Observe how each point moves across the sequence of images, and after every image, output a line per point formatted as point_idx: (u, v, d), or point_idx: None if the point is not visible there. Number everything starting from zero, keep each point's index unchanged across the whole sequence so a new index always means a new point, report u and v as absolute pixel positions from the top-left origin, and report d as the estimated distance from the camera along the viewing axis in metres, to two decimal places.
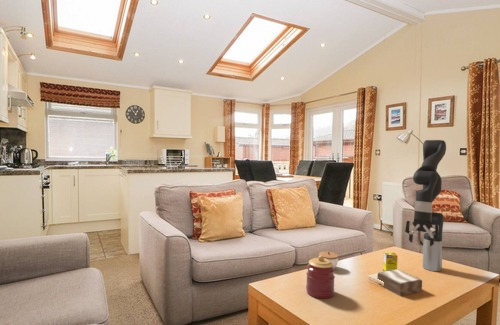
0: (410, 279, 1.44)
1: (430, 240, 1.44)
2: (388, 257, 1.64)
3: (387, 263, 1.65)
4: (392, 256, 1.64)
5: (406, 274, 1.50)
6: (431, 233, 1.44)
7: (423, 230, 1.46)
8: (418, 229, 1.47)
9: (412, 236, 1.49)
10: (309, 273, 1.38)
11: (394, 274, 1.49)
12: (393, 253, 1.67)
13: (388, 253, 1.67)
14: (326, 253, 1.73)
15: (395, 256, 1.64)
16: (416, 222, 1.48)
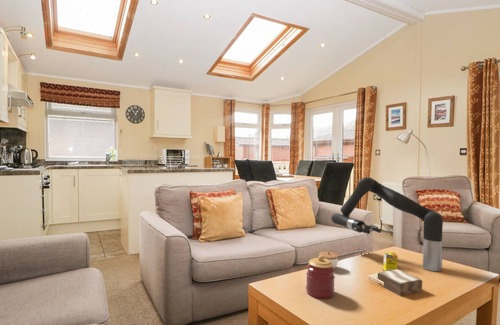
0: (410, 279, 1.44)
1: (366, 232, 1.78)
2: (388, 257, 1.64)
3: (387, 263, 1.65)
4: (392, 256, 1.64)
5: (406, 274, 1.50)
6: None
7: None
8: (368, 230, 1.84)
9: (376, 230, 1.82)
10: (309, 273, 1.38)
11: (394, 274, 1.49)
12: (393, 253, 1.67)
13: (388, 253, 1.67)
14: (326, 253, 1.73)
15: (395, 256, 1.64)
16: None
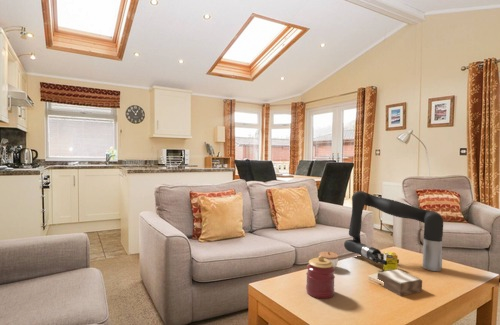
0: (410, 279, 1.44)
1: (383, 263, 1.67)
2: (388, 257, 1.64)
3: (387, 263, 1.65)
4: (392, 256, 1.64)
5: (406, 274, 1.50)
6: None
7: None
8: None
9: None
10: (309, 273, 1.38)
11: (394, 274, 1.49)
12: (393, 253, 1.67)
13: (388, 253, 1.67)
14: (326, 253, 1.73)
15: (395, 256, 1.64)
16: None
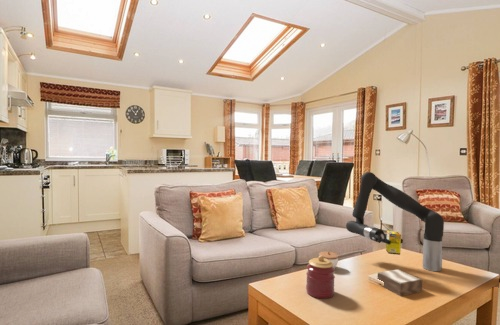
0: (410, 279, 1.44)
1: None
2: (391, 236, 1.58)
3: None
4: (395, 235, 1.57)
5: (406, 274, 1.50)
6: None
7: None
8: None
9: None
10: (309, 273, 1.38)
11: (394, 274, 1.49)
12: (396, 232, 1.60)
13: (391, 232, 1.60)
14: (326, 253, 1.73)
15: (398, 235, 1.57)
16: None
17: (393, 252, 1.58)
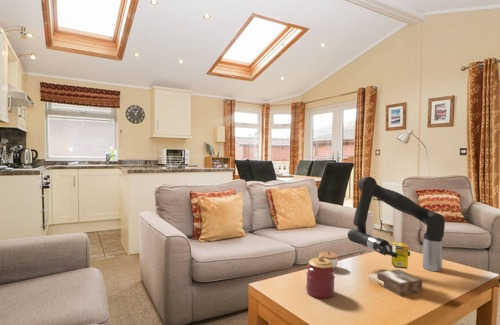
0: (410, 279, 1.44)
1: (392, 255, 1.47)
2: (398, 248, 1.45)
3: None
4: (402, 247, 1.45)
5: (406, 274, 1.50)
6: (386, 253, 1.50)
7: None
8: None
9: None
10: (309, 273, 1.38)
11: (394, 274, 1.49)
12: (403, 244, 1.48)
13: (398, 244, 1.48)
14: (326, 253, 1.73)
15: (406, 247, 1.44)
16: None
17: (400, 266, 1.45)
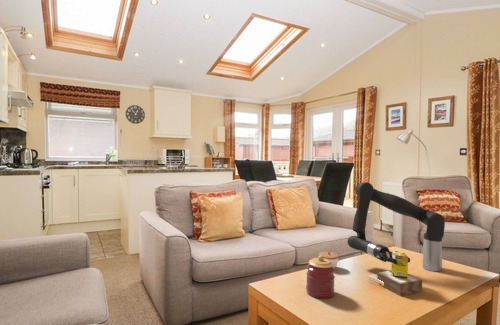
0: (410, 279, 1.44)
1: (392, 262, 1.47)
2: (397, 258, 1.45)
3: (396, 265, 1.46)
4: (402, 257, 1.45)
5: None
6: None
7: None
8: None
9: None
10: (309, 273, 1.38)
11: None
12: (403, 253, 1.48)
13: (397, 253, 1.48)
14: (326, 253, 1.73)
15: (405, 257, 1.45)
16: None
17: (399, 275, 1.45)
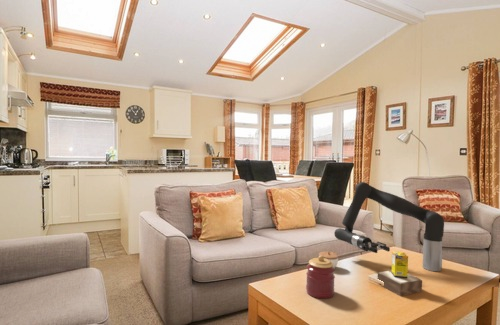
0: (410, 279, 1.44)
1: (373, 251, 1.60)
2: (397, 258, 1.45)
3: (396, 265, 1.46)
4: (402, 257, 1.45)
5: None
6: None
7: None
8: None
9: (384, 248, 1.63)
10: (309, 273, 1.38)
11: None
12: (403, 253, 1.48)
13: (397, 253, 1.48)
14: (326, 253, 1.73)
15: (405, 257, 1.45)
16: None
17: (399, 275, 1.45)
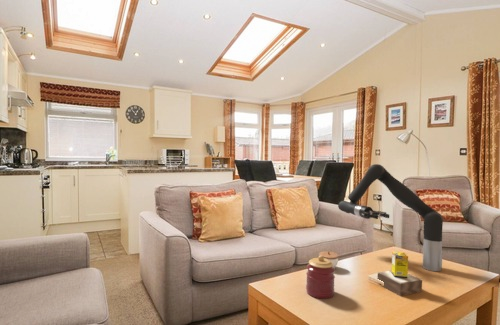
0: (410, 279, 1.44)
1: None
2: (397, 258, 1.45)
3: (396, 265, 1.46)
4: (402, 257, 1.45)
5: None
6: (369, 216, 1.77)
7: None
8: None
9: (384, 215, 1.77)
10: (309, 273, 1.38)
11: None
12: (403, 253, 1.48)
13: (397, 253, 1.48)
14: (326, 253, 1.73)
15: (405, 257, 1.45)
16: None
17: (399, 275, 1.45)
